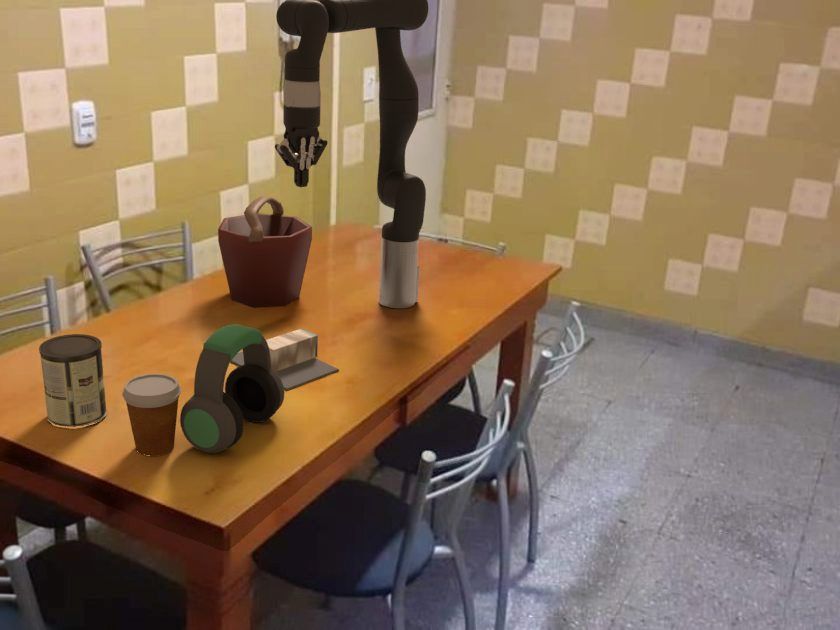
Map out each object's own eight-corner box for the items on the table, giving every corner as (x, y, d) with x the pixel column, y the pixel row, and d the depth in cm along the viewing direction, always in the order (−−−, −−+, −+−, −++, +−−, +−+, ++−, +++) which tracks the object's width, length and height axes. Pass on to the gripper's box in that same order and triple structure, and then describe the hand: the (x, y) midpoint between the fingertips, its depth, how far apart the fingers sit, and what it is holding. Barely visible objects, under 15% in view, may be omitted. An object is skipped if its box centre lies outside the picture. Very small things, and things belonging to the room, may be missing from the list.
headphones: (229, 465, 149) (226, 356, 142) (175, 449, 153) (170, 342, 146) (289, 418, 166) (289, 318, 159) (239, 405, 170) (237, 307, 162)
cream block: (302, 328, 193) (257, 342, 184) (317, 335, 190) (273, 350, 181) (301, 349, 194) (258, 364, 186) (317, 356, 191) (273, 372, 183)
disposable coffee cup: (153, 467, 147) (149, 402, 143) (114, 449, 152) (109, 386, 148) (195, 444, 155) (193, 382, 151) (156, 428, 159) (153, 367, 155)
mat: (276, 342, 199) (276, 340, 198) (338, 370, 186) (338, 368, 186) (225, 358, 189) (225, 357, 189) (286, 390, 177) (286, 388, 176)
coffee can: (72, 398, 168) (66, 329, 163) (118, 409, 165) (113, 339, 160) (33, 422, 159) (25, 350, 154) (81, 434, 156) (75, 361, 151)
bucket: (275, 320, 211) (275, 217, 202) (196, 303, 218) (193, 203, 209) (324, 289, 232) (325, 195, 223) (250, 275, 239) (249, 183, 230)
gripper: (314, 98, 189) (312, 179, 195) (264, 102, 180) (265, 187, 186) (338, 103, 184) (336, 185, 191) (289, 107, 175) (288, 194, 181)
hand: (301, 186), depth 188 cm, fingers closed
